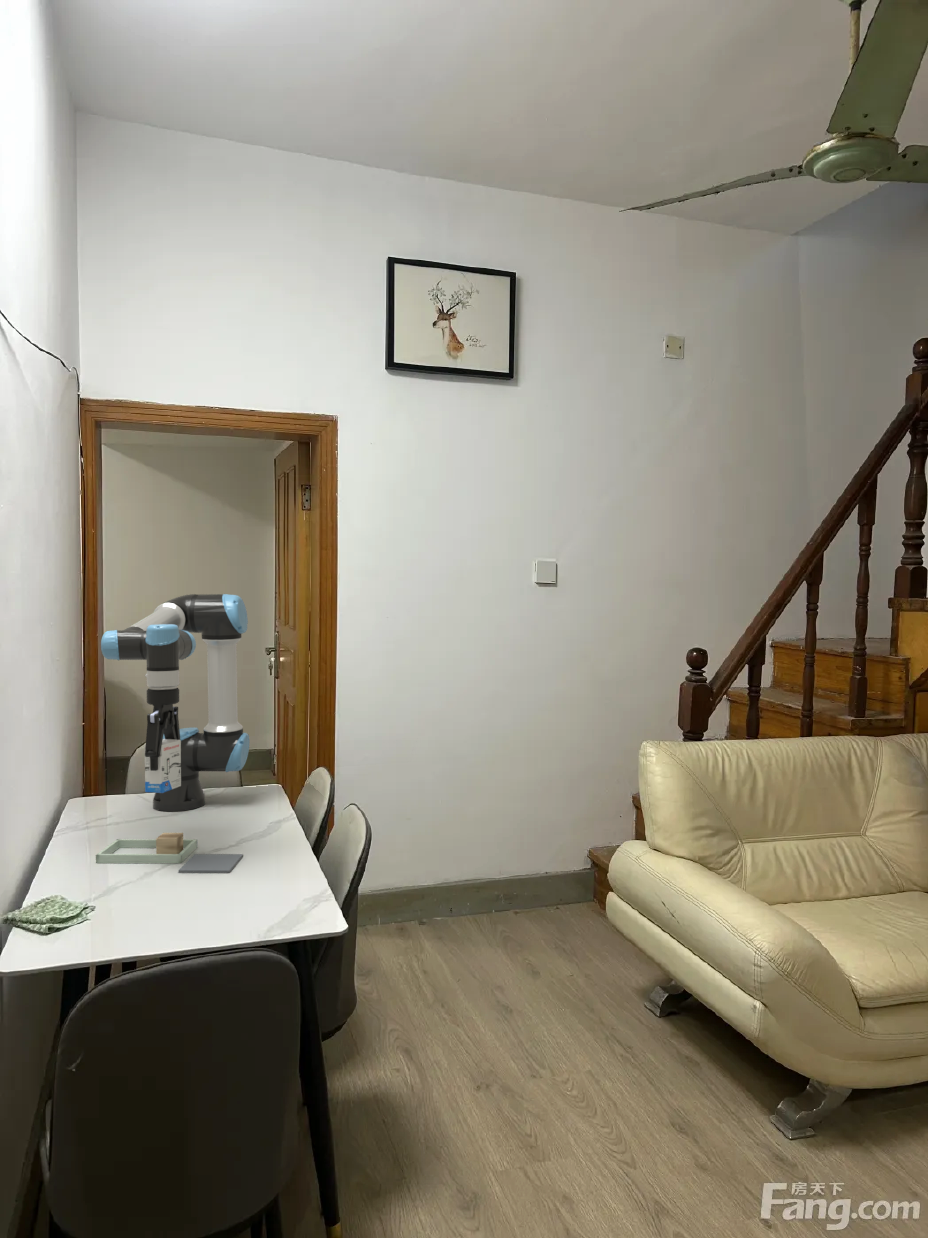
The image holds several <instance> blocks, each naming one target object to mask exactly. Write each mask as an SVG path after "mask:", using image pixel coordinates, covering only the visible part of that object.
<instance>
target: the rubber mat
mask: <svg viewBox="0 0 928 1238" xmlns="http://www.w3.org/2000/svg"><path fill="white" fill-rule="evenodd" d="M243 857H244V853H194V854H193V855H192V856H191V857H190V858H189V859H188V860H187V861H186V862H185V863H184V864H183V865H182V866H181V867H180V868H179V869H178V874H230V873H231V872H232V870H234V869H235V868H236V865H238V864H239V862H240V861H241V860H242V858H243Z"/></svg>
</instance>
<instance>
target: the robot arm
mask: <svg viewBox="0 0 928 1238" xmlns="http://www.w3.org/2000/svg"><path fill="white" fill-rule="evenodd" d="M248 623H249V621H248V613H247V608H246V605H245V602H244V601H243V599H242V597H241V596H239V595H238V594H227V593H221V594H220V593H217V594H216V593H215V594H213V593H211V594H207V593H206V594H204V593H203V594H202V593H201V594H195V593H192V594H191V593H190V594H184V595H179V596H177V597H175V598H172V599H171V598H170V599H169V600H167V601H165V602H162V603H161V604H159V605H158V606H157V607H155V609H154V610H153V612H152V613H151V614H149V615H147V616H146V617H144V618H142V619H141V620H139V621H136V622H135V623H134V624H132V625H130V626H128V627H126V628H124V629H122V630H118V629H115V630H114V629H113V630H107V631H105V632H104V633H103V634H102V637H101V641H100V648H101V649H100V650H101V653H102V655H103V657H104V658H105V659H107V660H113V661H114V660H116V661H142V660H144V661H146V673H145V675H144V677H145V678H146V686H147V687H148V688H147V689H146V703H147V705H152V706H153V707H152V713H147V715H146V720H147V721H146V722H147V723H146V724H147V725H146V726H147V727H146V738H145V745H146V746H145V745H144V758H145V757H149V781H150V784H161V783H162V756H160V752H161V745H162V740H163V739H175V740H181V786H179V787H177V788H174V789H172V790H169V791H167V792H164V793H154V795H153V798H152V808H153V809H154V810H157V811H161V812H182V811H188V810H193V809H197V808H201V807H202V806H204V805H205V804H206V796H205V793H204V790H203V787H202V784H201V780H200V772H221V773H222V772H225V773H229V772H238V771H242V769H243V768H244V766H245V765H246V762H247V759H248V756H249V750H250V736H249V734H248V732H244V725H242V724H241V723H240V722H239V720H238V716H239V715H238V666H237V665H238V660H237V659H238V655H237V654H238V653H237V651H238V650H237V644H238V643H239V642H240V641H241V640H242V634H244V633H246V632H247V631H248ZM192 633H193V634H194V633H195V634H197V633H198V634H201V640H202V641H203V642H204V643H205V645H206V653H207V655H206V656H207V657H206V658H207V662H206V663H207V700H208V701H207V705H208V708H207V709H208V711H207V713H208V714H207V715H208V722H207V724H206V725H205V726H204V727H203V732H200V730H199V728H198V727H183V728H180V723H179V720H180V719H179V706H173V705H176V704H179V702H180V688H179V685H180V660H181V661H182V660H186V659H187V658H189V657H190V656H192V655H193V654H194V652H195V650H196V646H197V642H196V639H195V638H196V637H194V635H193V634H192Z"/></svg>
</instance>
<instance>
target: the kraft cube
mask: <svg viewBox="0 0 928 1238" xmlns="http://www.w3.org/2000/svg"><path fill="white" fill-rule="evenodd" d="M183 839H184V832H162V833H161V834H160V835H159V836H158V837H156V848H155V849H156V851H155V852H156V853H155V854H179V853H180V852H181V851H182V850H183V849H184V848H183Z"/></svg>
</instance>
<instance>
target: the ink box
mask: <svg viewBox="0 0 928 1238" xmlns="http://www.w3.org/2000/svg"><path fill="white" fill-rule="evenodd" d="M145 746H146V744H144V747H145ZM160 756H162V783H161V784H150V781H149V757H145V756H144V786H145V787H144V789H145V790H144V792H145V793H154V794H155V793H164V792H167V791H169V790H172V789H174V788H177V787H179V786H181V740H175V739H163V740H162V745H161V752H160Z"/></svg>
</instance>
